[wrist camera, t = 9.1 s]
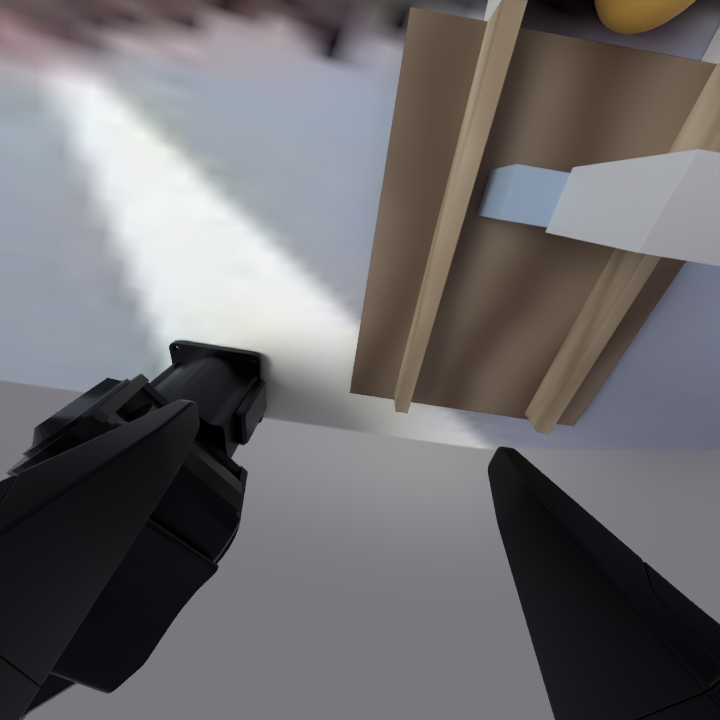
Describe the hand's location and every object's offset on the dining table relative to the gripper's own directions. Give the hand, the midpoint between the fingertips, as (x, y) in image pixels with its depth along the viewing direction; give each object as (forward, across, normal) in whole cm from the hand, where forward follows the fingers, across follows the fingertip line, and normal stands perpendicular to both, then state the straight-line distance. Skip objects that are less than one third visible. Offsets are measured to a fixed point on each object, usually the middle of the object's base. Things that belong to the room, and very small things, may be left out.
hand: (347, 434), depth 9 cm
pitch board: (+12, -8, -3) cm, 15 cm away
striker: (+11, -9, -7) cm, 15 cm away
